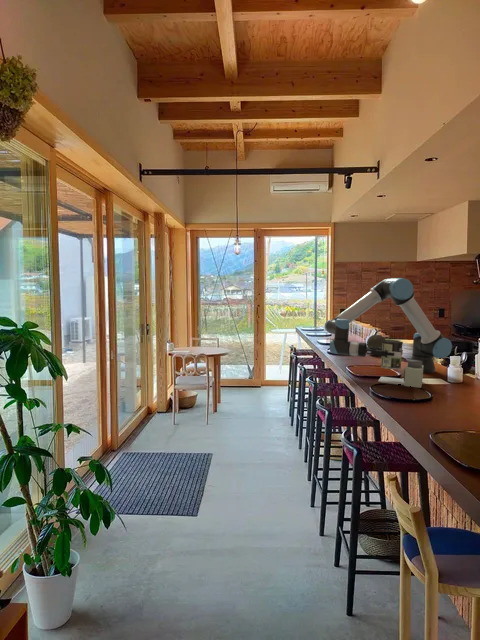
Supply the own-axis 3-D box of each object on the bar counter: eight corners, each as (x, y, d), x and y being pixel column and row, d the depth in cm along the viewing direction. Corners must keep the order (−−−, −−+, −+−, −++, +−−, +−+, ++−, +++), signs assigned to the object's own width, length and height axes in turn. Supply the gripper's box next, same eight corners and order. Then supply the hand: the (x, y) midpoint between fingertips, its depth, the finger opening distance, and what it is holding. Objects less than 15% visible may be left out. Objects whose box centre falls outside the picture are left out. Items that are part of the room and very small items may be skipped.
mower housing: (377, 382, 233) (379, 359, 232) (381, 377, 247) (382, 355, 246) (421, 387, 224) (422, 364, 223) (422, 381, 239) (423, 359, 238)
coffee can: (401, 367, 240) (403, 341, 239) (400, 370, 231) (402, 343, 229) (381, 364, 244) (383, 339, 243) (379, 368, 234) (381, 341, 233)
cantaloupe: (386, 354, 330) (387, 334, 329) (386, 357, 317) (387, 336, 316) (366, 353, 335) (367, 333, 333) (365, 355, 321) (367, 335, 320)
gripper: (361, 353, 254) (402, 357, 245) (354, 358, 233) (399, 363, 224) (362, 340, 253) (404, 344, 244) (355, 344, 233) (400, 349, 224)
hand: (401, 353), depth 234 cm, fingers closed on coffee can, 10 cm apart
